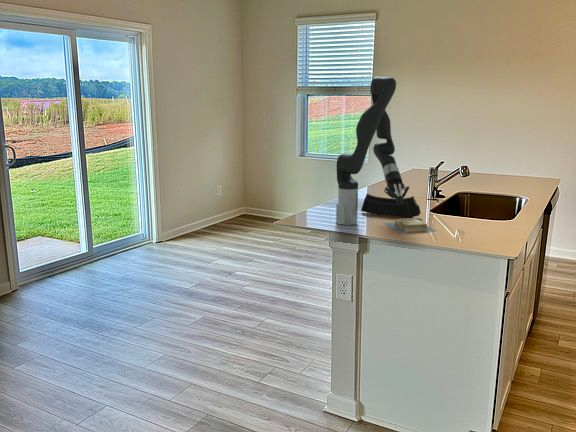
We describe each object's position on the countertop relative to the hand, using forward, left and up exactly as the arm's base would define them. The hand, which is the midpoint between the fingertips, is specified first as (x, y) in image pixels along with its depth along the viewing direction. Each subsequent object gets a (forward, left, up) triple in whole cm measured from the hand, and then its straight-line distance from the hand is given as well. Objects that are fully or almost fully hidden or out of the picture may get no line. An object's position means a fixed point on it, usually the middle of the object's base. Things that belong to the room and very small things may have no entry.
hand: (401, 204), depth 242 cm
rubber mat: (-3, -8, -9) cm, 13 cm away
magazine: (+7, +14, -10) cm, 19 cm away
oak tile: (-2, -5, -7) cm, 9 cm away
